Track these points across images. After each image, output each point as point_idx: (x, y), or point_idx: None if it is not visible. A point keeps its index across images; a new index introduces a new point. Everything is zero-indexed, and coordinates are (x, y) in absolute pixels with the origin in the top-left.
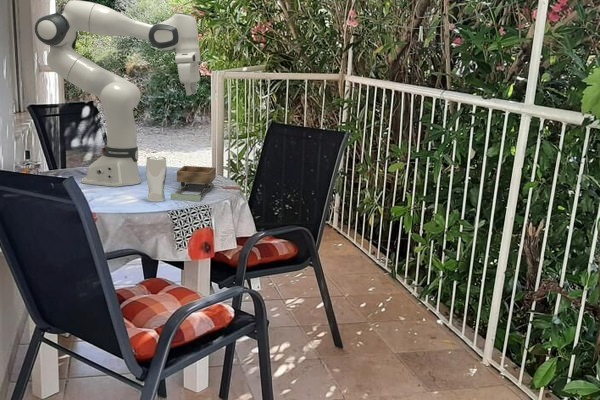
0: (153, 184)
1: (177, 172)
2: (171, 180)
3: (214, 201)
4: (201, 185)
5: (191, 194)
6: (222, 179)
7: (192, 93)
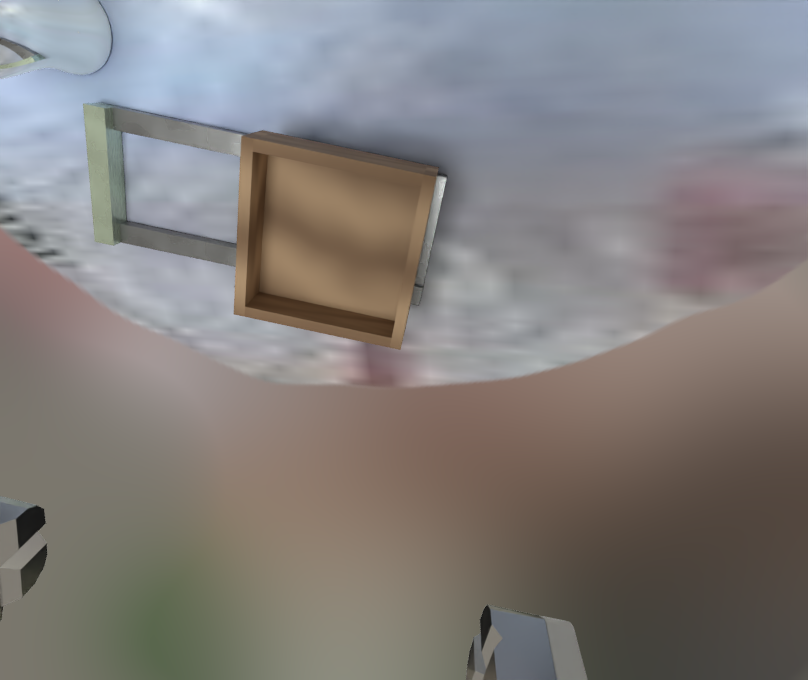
0: None
1: (243, 138)
2: (539, 83)
3: (127, 290)
4: None
5: (107, 203)
6: (564, 350)
7: (484, 616)
